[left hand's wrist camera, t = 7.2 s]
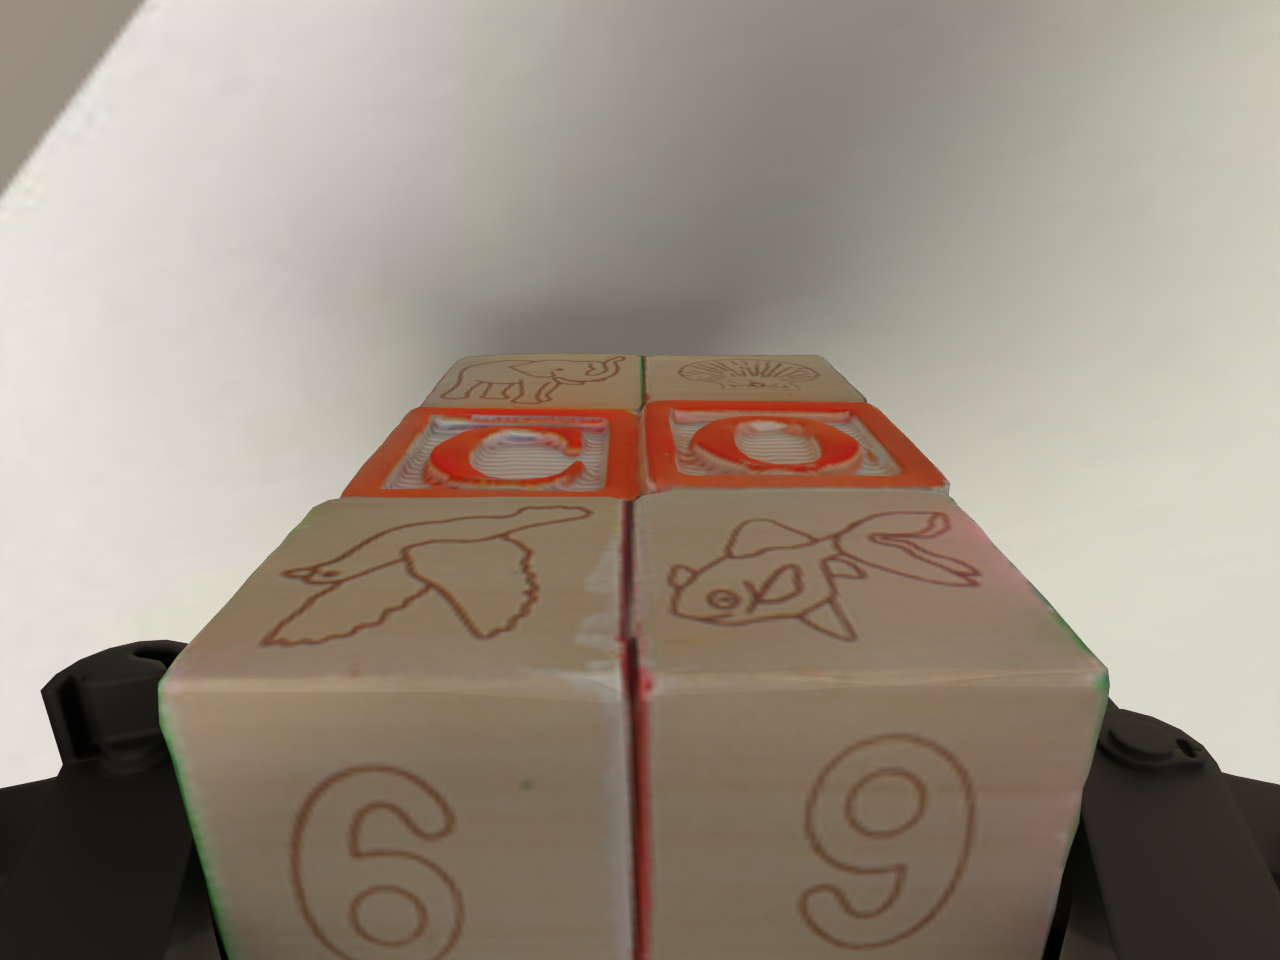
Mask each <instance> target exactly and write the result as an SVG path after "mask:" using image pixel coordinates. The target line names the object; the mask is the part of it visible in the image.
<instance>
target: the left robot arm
mask: <svg viewBox="0 0 1280 960" xmlns="http://www.w3.org/2000/svg"><path fill="white" fill-rule="evenodd" d="M187 645H188V644H187V643H182V642H176V641H170V640H154V641H139V642H134V643H130V644H126V645H121V646H117V647H113V648H109V649H106V650H104V651H101V652H98V653H96V654H93V655H91V656H88V657H86V658H83V659H81V660H79V661H77V662H75V663H74V664H72V665H71V666H69V667H67V668H66V669H64V670H62V671H61V672H59V673H57V674H56V675H55V676H54V677H53V678H52V679H51V680H50V681H49V682H48V683H47V684H46V685H45V686H44V687H43V689H42V690H41V694H42V697H43V701H44V704H45V707H46V710H47V714H48V717H49V720H50V724H51V727H52V730H53V733H54V737H55V740H56V743H57V746H58V750H59V753H60V756H61V760H62V763H63V766H62V768H61V770H60V772H59V774H58V776H57V777H53V778H49V779H45V780H40V781H35V782H30V783H25V784H20V785H15V786H11V787H6V788H1V789H0V960H228V957H227V955H226V953H225V950H224V948H223V945H222V941H221V938H220V935H219V931H218V928H217V925H216V921H215V918H214V914H213V910H212V906H211V901H210V897H209V893H208V888H207V884H206V880H205V876H204V872H203V869H202V865H201V862H200V858H199V855H198V851H197V848H196V845H195V841H194V838H193V834H192V831H191V827H190V824H189V820H188V816H187V813H186V809H185V805H184V802H183V798H182V794H181V791H180V787H179V784H178V780H177V776H176V773H175V769H174V765H173V762H172V758H171V755H170V752H169V749H168V746H167V744H166V741H165V738H164V735H163V732H162V730H161V727H160V724H159V703H158V682H159V681H160V679H161V678H162V677H163V675H164V674H165V673H166V671H167V670H168V668H169V667H170V666H171V664H172V663H173V662H174V660H175V659H176V657H177V656H178V655H179V654H180V653H181V652H182V651H183V650H184V648H185V647H186V646H187ZM1042 960H1280V785H1278V784H1273V783H1268V782H1263V781H1259V780H1254V779H1249V778H1244V777H1239V776H1234V775H1230V774H1227V773H1223V772H1221V770H1220V768H1219V766H1218V764H1217V763H1216V761H1215V760H1214V759H1213V757H1212V756H1211V755H1210V754H1209V752H1208V751H1207V750H1206V749H1205V747H1204V746H1203V745H1201V744H1200V743H1199V742H1197V741H1196V740H1194V739H1193V738H1192V737H1190V736H1189V735H1187V734H1186V733H1185V732H1183V731H1182V730H1180V729H1178V728H1176V727H1174V726H1172V725H1169V724H1167V723H1165V722H1163V721H1161V720H1158V719H1156V718H1154V717H1151V716H1147V715H1144V714H1140V713H1136V712H1132V711H1129V710H1125V709H1119V708H1118V707H1117V706H1116V705H1115V704H1114V702H1113V701H1112V700H1111V699H1110V698H1109V697H1108V703H1107V707H1106V711H1105V714H1104V718H1103V722H1102V725H1101V729H1100V732H1099V736H1098V740H1097V744H1096V748H1095V752H1094V756H1093V760H1092V764H1091V768H1090V772H1089V774H1088V777H1087V779H1086V782H1085V785H1084V787H1083V792H1082V801H1081V810H1080V819H1079V825H1078V828H1077V830H1076V833H1075V836H1074V839H1073V842H1072V845H1071V848H1070V851H1069V854H1068V858H1067V861H1066V864H1065V868H1064V871H1063V875H1062V879H1061V884H1060V889H1059V894H1058V899H1057V904H1056V909H1055V913H1054V917H1053V921H1052V925H1051V928H1050V932H1049V936H1048V940H1047V944H1046V947H1045V951H1044V955H1043V958H1042Z"/></svg>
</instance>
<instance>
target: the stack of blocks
mask: <svg viewBox="0 0 1280 960" xmlns="http://www.w3.org/2000/svg"><path fill="white" fill-rule="evenodd" d="M949 487H950V483H949V482H948V480H947V479H946V478H945V477H944V475H943V474H942V473H941V472H940V471H939V470H938V469H937V468H936V467H935V466H934V465H933V463H932V462H931V461H930V460H929V459H928V458H927V457H926V456H925V455H924V454H923V453H922V452H921V451H920V450H919V449H918V448H917V447H916V446H915V445H914V444H913V443H912V442H911V441H910V440H909V439H908V438H907V437H906V436H905V435H904V434H903V433H902V432H901V431H900V430H899V429H898V428H897V427H896V426H895V425H894V424H893V423H892V422H891V421H890V420H889V419H888V418H887V417H886V416H885V415H884V414H883V413H882V412H881V411H880V410H879V409H878V408H876V407H874V406H872V405H870V404H869V403H867V401H866V398H865V397H864V396H863V395H862V394H861V393H860V392H859V391H857V390H856V389H855V388H854V387H853V386H852V385H851V384H850V383H849V382H848V381H847V380H846V379H845V378H844V377H843V376H842V375H841V374H840V373H838V372H837V371H836V370H835V369H834V368H833V366H832V365H830V364H829V363H828V362H827V361H826V360H825V359H824V358H823V357H821V356H818V355H783V356H782V355H654V356H639V355H633V354H582V353H564V354H506V355H489V356H473V357H466V358H463V359H461V360H459V361H457V362H456V363H455V364H454V366H453V367H452V368H451V369H450V370H449V371H448V372H447V373H446V374H445V375H444V376H443V378H442V379H441V380H440V381H439V382H438V383H437V385H436V386H435V388H434V389H433V391H432V392H431V393H430V394H429V395H428V396H427V398H426V400H425V401H424V402H423V404H422V405H421V406H420V407H418V408H416V409H414V410H411V411H410V412H409V413H408V414H407V415H406V416H405V417H404V418H403V420H402V421H401V423H400V424H399V425H398V426H397V427H396V428H395V429H394V430H393V431H392V432H391V434H390V435H389V436H388V438H387V439H386V440H385V442H384V443H383V444H382V445H381V446H380V447H379V448H378V450H377V451H376V452H375V453H374V454H373V455H372V456H371V457H370V458H369V459H368V460H367V462H366V463H365V464H364V465H363V466H362V467H361V469H360V470H359V471H358V473H357V474H356V475H355V477H354V478H353V479H352V481H351V482H350V483H349V484H348V486H347V487H346V488H345V490H344V491H343V493H342V495H341V497H340V499H334V500H328V501H326V502H324V503H322V504H319V505H317V506H315V507H313V508H312V509H311V511H310V512H309V513H308V514H307V516H306V517H305V518H304V519H303V521H302V522H301V523H300V524H299V525H297V526H296V527H295V528H294V529H293V530H292V531H291V532H290V533H289V534H288V536H287V537H286V538H285V540H284V541H283V542H282V543H281V545H280V546H279V547H278V548H277V549H276V550H275V551H274V552H272V553H271V554H270V555H269V556H268V557H267V559H266V560H265V561H264V562H263V563H262V564H261V565H260V566H259V567H258V568H257V569H256V570H255V571H254V572H253V573H252V575H251V576H250V577H249V578H248V579H247V580H246V582H245V583H244V584H243V585H242V586H241V588H240V589H239V590H238V591H237V592H236V593H235V595H234V596H233V597H232V598H231V599H230V600H229V602H228V603H227V604H226V605H225V606H224V607H223V608H222V609H221V610H220V611H219V612H218V613H217V614H216V615H215V616H214V618H213V619H212V620H211V621H210V622H209V623H208V624H207V625H206V626H205V627H204V628H203V629H202V630H201V631H200V632H199V634H198V635H197V636H196V637H195V638H194V639H193V640H192V641H191V642H190V643H189V644H188V645H187V646H186V647H185V648H184V650H183V651H182V652H181V653H180V654H179V655H178V656H177V657H176V659H175V660H174V662H173V663H172V664H171V666H170V667H169V668H168V670H167V671H166V673H165V674H164V675H163V677H162V678H161V679H160V681H159V682H158V703H159V724H160V727H161V730H162V732H163V735H164V738H165V741H166V744H167V746H168V749H169V752H170V755H171V758H172V762H173V765H174V769H175V773H176V776H177V780H178V784H179V787H180V791H181V794H182V798H183V802H184V805H185V809H186V813H187V816H188V820H189V824H190V827H191V831H192V834H193V838H194V841H195V845H196V848H197V851H198V855H199V858H200V862H201V865H202V869H203V872H204V876H205V880H206V884H207V888H208V893H209V897H210V901H211V906H212V910H213V914H214V918H215V921H216V925H217V928H218V931H219V935H220V938H221V941H222V945H223V948H224V950H225V953H226V955H227V957H228V960H1042V958H1043V955H1044V951H1045V947H1046V944H1047V940H1048V936H1049V932H1050V928H1051V925H1052V921H1053V917H1054V913H1055V909H1056V904H1057V899H1058V894H1059V889H1060V884H1061V879H1062V875H1063V871H1064V868H1065V864H1066V861H1067V858H1068V854H1069V851H1070V848H1071V845H1072V842H1073V839H1074V836H1075V833H1076V830H1077V828H1078V825H1079V819H1080V810H1081V801H1082V792H1083V787H1084V785H1085V782H1086V779H1087V777H1088V774H1089V772H1090V768H1091V764H1092V760H1093V756H1094V752H1095V748H1096V744H1097V740H1098V736H1099V732H1100V729H1101V725H1102V722H1103V718H1104V714H1105V711H1106V707H1107V703H1108V695H1109V687H1110V684H1109V675H1108V668H1107V667H1106V666H1105V665H1104V664H1103V663H1102V662H1101V661H1100V660H1099V659H1098V658H1097V657H1096V656H1095V655H1094V654H1093V653H1092V652H1091V650H1090V649H1089V648H1088V647H1087V646H1086V645H1085V644H1084V643H1083V641H1082V640H1081V639H1080V638H1079V637H1078V636H1077V634H1076V633H1075V632H1074V631H1073V630H1072V629H1071V627H1070V626H1069V625H1068V624H1067V623H1066V622H1065V620H1064V619H1063V618H1062V617H1061V616H1060V615H1059V613H1058V612H1057V611H1056V610H1055V609H1054V608H1053V606H1052V605H1051V604H1050V603H1049V602H1048V601H1047V600H1046V598H1045V597H1044V596H1043V595H1042V594H1041V593H1040V592H1039V591H1038V590H1037V589H1036V588H1035V587H1034V586H1033V585H1032V584H1031V583H1030V581H1029V580H1028V579H1027V578H1026V577H1025V576H1024V575H1023V574H1022V573H1021V572H1020V571H1019V570H1018V569H1017V568H1016V567H1015V566H1014V565H1013V564H1012V563H1011V562H1010V561H1009V559H1008V558H1007V557H1006V556H1005V555H1004V554H1003V553H1002V552H1001V551H1000V550H999V549H998V548H997V547H996V546H995V545H994V544H993V542H992V541H991V540H990V539H989V537H988V536H987V535H986V534H985V533H984V531H983V530H982V529H981V528H980V526H979V525H978V524H977V523H976V522H975V521H974V520H973V519H972V518H971V517H970V516H969V515H968V514H967V513H966V512H964V511H963V510H962V509H961V508H960V507H959V506H958V505H957V504H956V502H955V501H954V500H953V499H952V498H951V497H950V496H948V495H949Z"/></svg>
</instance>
